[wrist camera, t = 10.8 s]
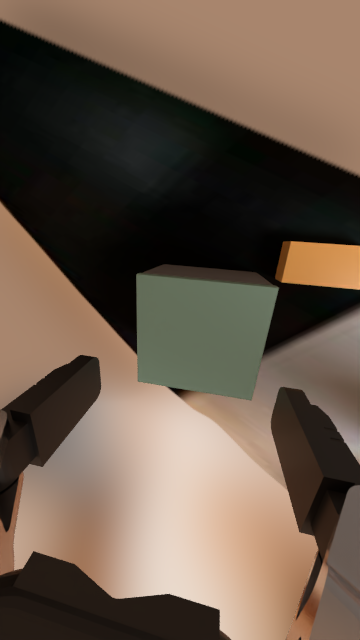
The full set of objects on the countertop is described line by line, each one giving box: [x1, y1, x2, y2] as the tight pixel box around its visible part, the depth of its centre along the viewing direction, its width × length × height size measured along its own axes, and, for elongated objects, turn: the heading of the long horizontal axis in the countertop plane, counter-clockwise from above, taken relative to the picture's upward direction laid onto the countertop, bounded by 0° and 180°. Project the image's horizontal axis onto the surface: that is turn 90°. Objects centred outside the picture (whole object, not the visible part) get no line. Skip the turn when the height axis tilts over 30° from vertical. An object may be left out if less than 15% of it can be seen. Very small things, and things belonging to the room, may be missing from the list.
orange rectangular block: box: [275, 241, 360, 289], centre depth 22 cm, size 8×4×3 cm, turn 86°
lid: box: [136, 273, 279, 400], centre depth 19 cm, size 11×11×1 cm
